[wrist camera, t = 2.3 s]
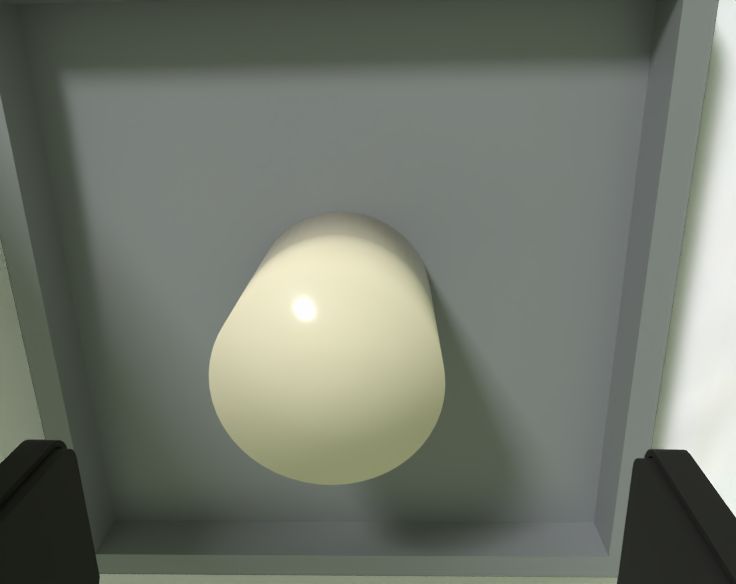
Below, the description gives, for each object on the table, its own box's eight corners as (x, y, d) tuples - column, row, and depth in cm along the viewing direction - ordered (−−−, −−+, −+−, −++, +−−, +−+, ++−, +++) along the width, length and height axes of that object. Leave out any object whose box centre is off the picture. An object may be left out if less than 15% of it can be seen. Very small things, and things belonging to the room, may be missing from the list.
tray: (609, 529, 23) (631, 576, 21) (102, 527, 24) (75, 573, 21) (685, -45, 17) (727, -58, 15) (-8, -27, 17) (-61, -37, 15)
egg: (348, 405, 21) (335, 522, 16) (221, 300, 20) (161, 389, 15) (466, 294, 19) (495, 382, 14) (336, 174, 18) (315, 223, 13)
